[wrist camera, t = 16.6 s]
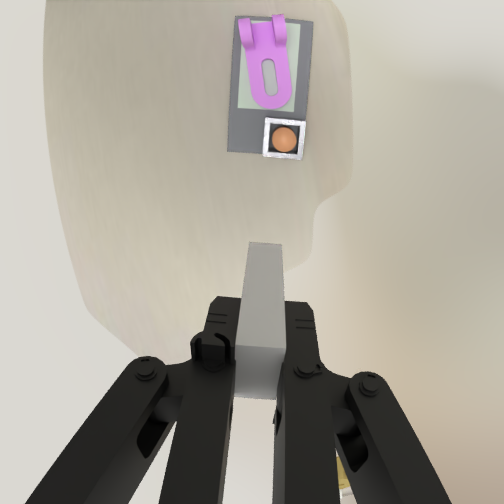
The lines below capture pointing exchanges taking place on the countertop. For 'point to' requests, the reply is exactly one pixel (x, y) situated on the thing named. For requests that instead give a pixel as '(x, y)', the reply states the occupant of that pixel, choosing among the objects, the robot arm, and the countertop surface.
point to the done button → (283, 138)
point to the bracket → (266, 47)
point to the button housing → (300, 138)
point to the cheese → (342, 475)
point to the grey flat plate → (267, 88)
